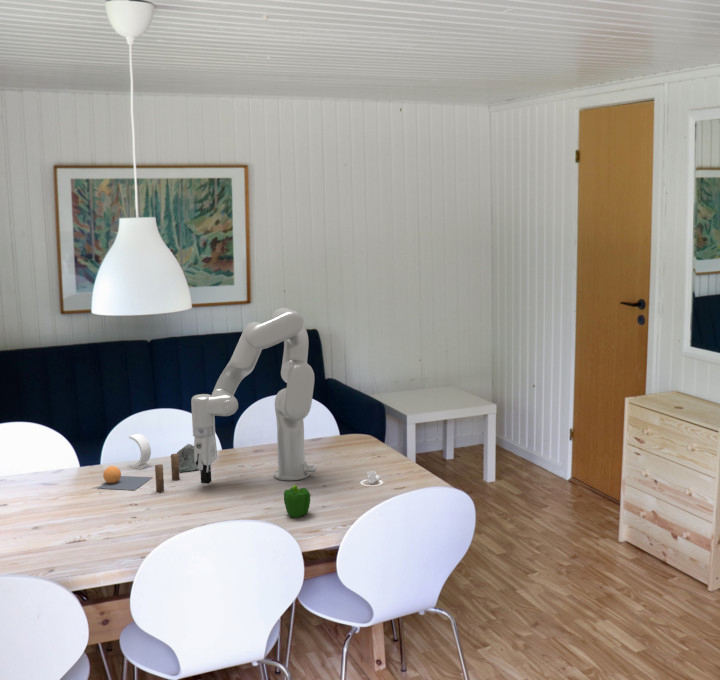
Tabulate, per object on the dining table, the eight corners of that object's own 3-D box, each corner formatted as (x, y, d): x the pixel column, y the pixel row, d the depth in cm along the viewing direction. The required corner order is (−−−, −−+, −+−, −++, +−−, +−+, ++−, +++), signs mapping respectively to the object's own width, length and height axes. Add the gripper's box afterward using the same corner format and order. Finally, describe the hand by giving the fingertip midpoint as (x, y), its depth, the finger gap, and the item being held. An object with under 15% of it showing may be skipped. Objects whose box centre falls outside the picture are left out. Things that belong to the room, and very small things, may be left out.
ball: (122, 482, 288) (125, 467, 287) (114, 488, 283) (117, 472, 281) (106, 477, 289) (110, 461, 288) (98, 482, 283) (102, 466, 282)
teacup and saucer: (373, 478, 288) (373, 467, 287) (389, 483, 282) (389, 471, 281) (355, 484, 282) (355, 472, 281) (371, 489, 276) (371, 477, 275)
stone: (187, 445, 294) (193, 437, 305) (166, 463, 295) (172, 454, 306) (205, 465, 296) (211, 456, 306) (185, 482, 297) (191, 473, 307)
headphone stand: (139, 464, 308) (137, 433, 306) (151, 466, 305) (150, 435, 303) (130, 467, 304) (129, 436, 302) (143, 469, 301) (141, 437, 299)
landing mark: (152, 477, 291) (152, 477, 291) (134, 490, 277) (134, 489, 277) (116, 476, 294) (116, 475, 294) (97, 488, 280) (96, 488, 280)
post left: (165, 490, 277) (164, 464, 276) (162, 492, 275) (160, 466, 273) (158, 489, 278) (156, 464, 276) (155, 492, 275) (153, 466, 274)
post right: (180, 478, 290) (179, 453, 289) (177, 480, 287) (176, 455, 286) (173, 477, 290) (172, 453, 289) (170, 480, 288) (169, 455, 287)
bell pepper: (296, 508, 257) (295, 477, 256) (316, 513, 252) (315, 482, 251) (277, 515, 251) (276, 484, 250) (297, 521, 246) (296, 489, 244)
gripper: (206, 436, 269) (208, 490, 272) (222, 425, 284) (224, 476, 286) (184, 436, 271) (187, 489, 273) (201, 425, 285) (203, 475, 288)
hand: (206, 482), depth 280 cm, fingers closed
